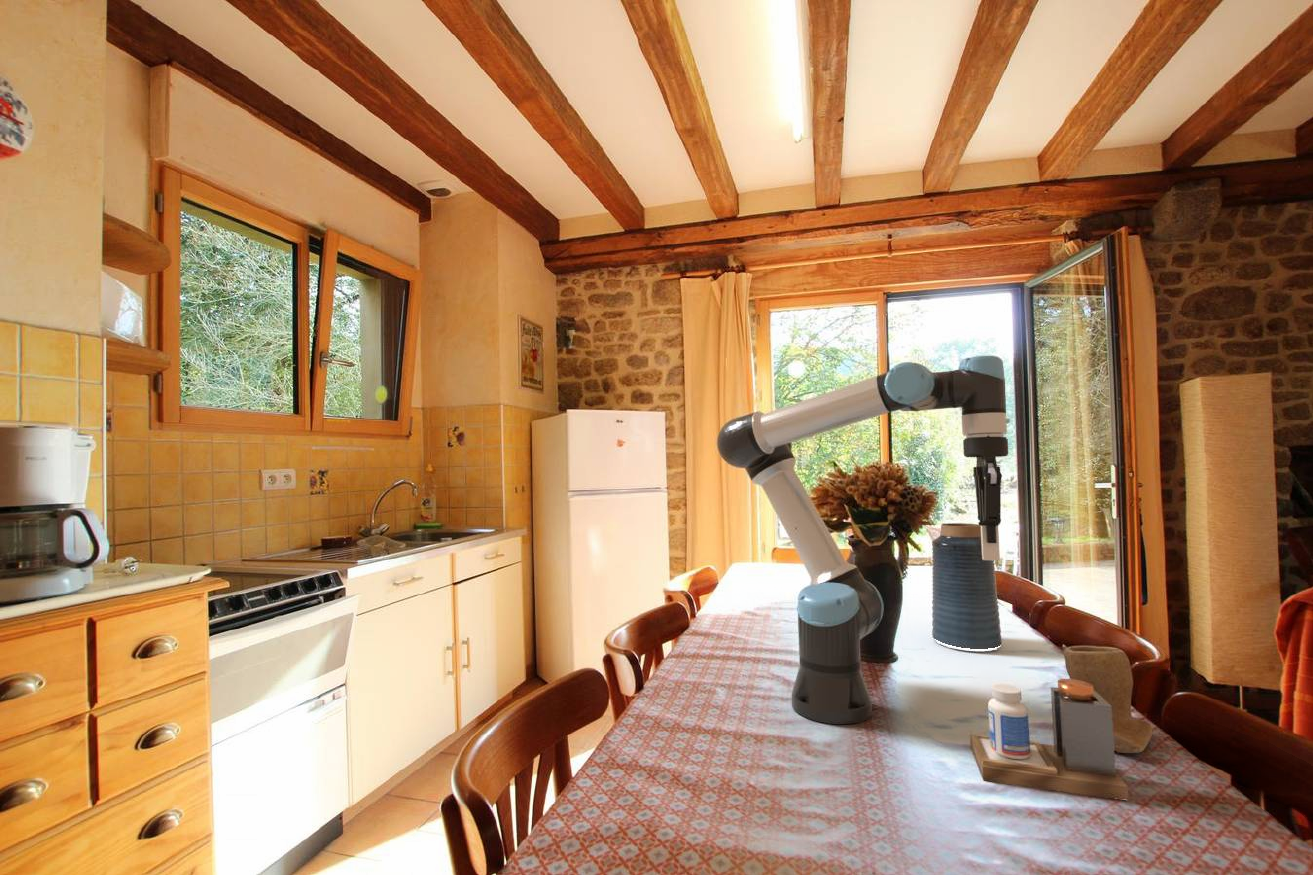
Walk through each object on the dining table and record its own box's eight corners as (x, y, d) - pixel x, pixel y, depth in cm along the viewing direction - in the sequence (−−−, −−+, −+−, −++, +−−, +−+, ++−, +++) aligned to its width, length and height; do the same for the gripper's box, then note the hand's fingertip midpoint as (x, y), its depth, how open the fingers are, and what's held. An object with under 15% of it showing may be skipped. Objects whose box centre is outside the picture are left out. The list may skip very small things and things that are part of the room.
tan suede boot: (1077, 713, 110) (1072, 633, 111) (1159, 733, 101) (1153, 646, 102) (1054, 739, 100) (1049, 650, 101) (1143, 764, 91) (1137, 667, 92)
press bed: (983, 780, 87) (982, 762, 87) (970, 747, 97) (969, 731, 98) (1128, 801, 81) (1127, 782, 81) (1098, 763, 91) (1097, 746, 92)
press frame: (1066, 770, 86) (1063, 701, 86) (1054, 751, 91) (1050, 687, 92) (1115, 776, 84) (1111, 706, 84) (1099, 757, 89) (1095, 691, 90)
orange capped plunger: (1067, 766, 86) (1063, 687, 87) (1058, 753, 91) (1053, 677, 91) (1102, 771, 85) (1098, 690, 86) (1091, 757, 89) (1087, 680, 90)
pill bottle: (1038, 755, 90) (1034, 690, 90) (1017, 763, 87) (1014, 697, 88) (1003, 740, 95) (1000, 679, 95) (982, 748, 92) (979, 686, 93)
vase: (1015, 653, 146) (1009, 527, 148) (950, 653, 146) (945, 528, 148) (980, 634, 162) (975, 521, 164) (922, 635, 162) (917, 522, 164)
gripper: (1015, 434, 104) (1022, 566, 103) (999, 437, 117) (1005, 555, 115) (968, 435, 107) (975, 564, 106) (957, 438, 119) (963, 554, 118)
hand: (990, 559), depth 110 cm, fingers closed
